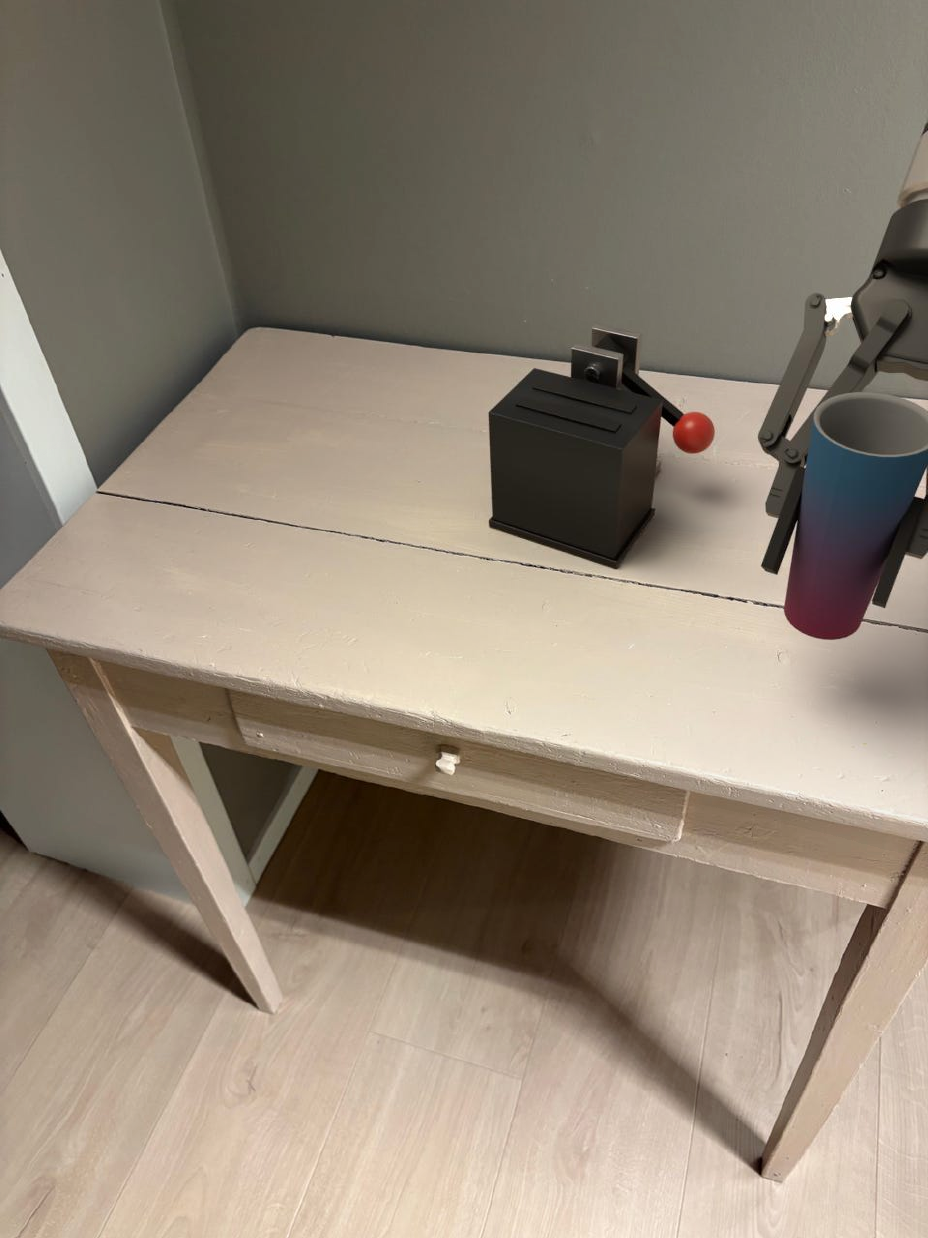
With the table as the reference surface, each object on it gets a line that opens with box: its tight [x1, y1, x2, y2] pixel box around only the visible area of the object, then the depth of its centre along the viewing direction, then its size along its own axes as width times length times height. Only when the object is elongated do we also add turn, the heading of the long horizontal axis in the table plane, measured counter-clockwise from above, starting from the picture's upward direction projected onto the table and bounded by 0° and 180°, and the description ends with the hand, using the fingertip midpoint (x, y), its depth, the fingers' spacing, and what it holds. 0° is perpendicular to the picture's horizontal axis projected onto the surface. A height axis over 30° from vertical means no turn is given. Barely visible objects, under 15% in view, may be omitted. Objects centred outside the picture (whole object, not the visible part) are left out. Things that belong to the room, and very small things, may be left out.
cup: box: [783, 391, 928, 641], centre depth 60 cm, size 7×7×15 cm
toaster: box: [487, 367, 663, 570], centre depth 83 cm, size 13×8×12 cm
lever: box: [594, 335, 716, 455], centre depth 84 cm, size 13×4×4 cm
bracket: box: [570, 323, 662, 477], centre depth 87 cm, size 10×6×14 cm, turn 59°
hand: (822, 586), depth 59 cm, fingers closed on cup, 6 cm apart
